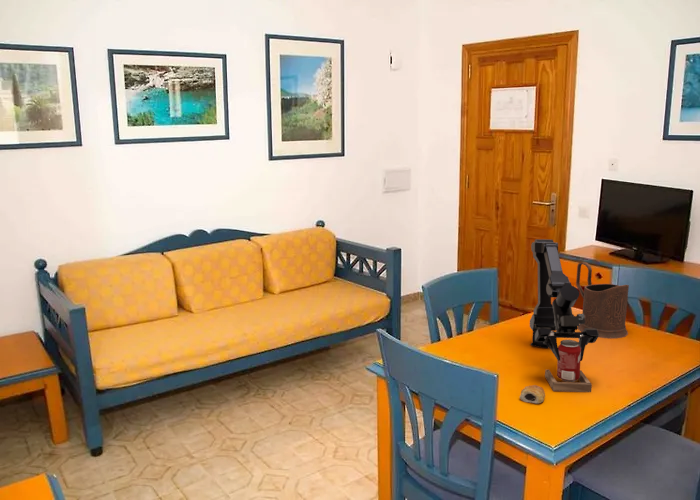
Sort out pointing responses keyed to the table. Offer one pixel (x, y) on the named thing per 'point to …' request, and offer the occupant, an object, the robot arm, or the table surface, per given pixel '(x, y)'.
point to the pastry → (532, 394)
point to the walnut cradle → (569, 383)
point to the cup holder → (603, 306)
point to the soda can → (569, 361)
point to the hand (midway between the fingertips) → (570, 360)
